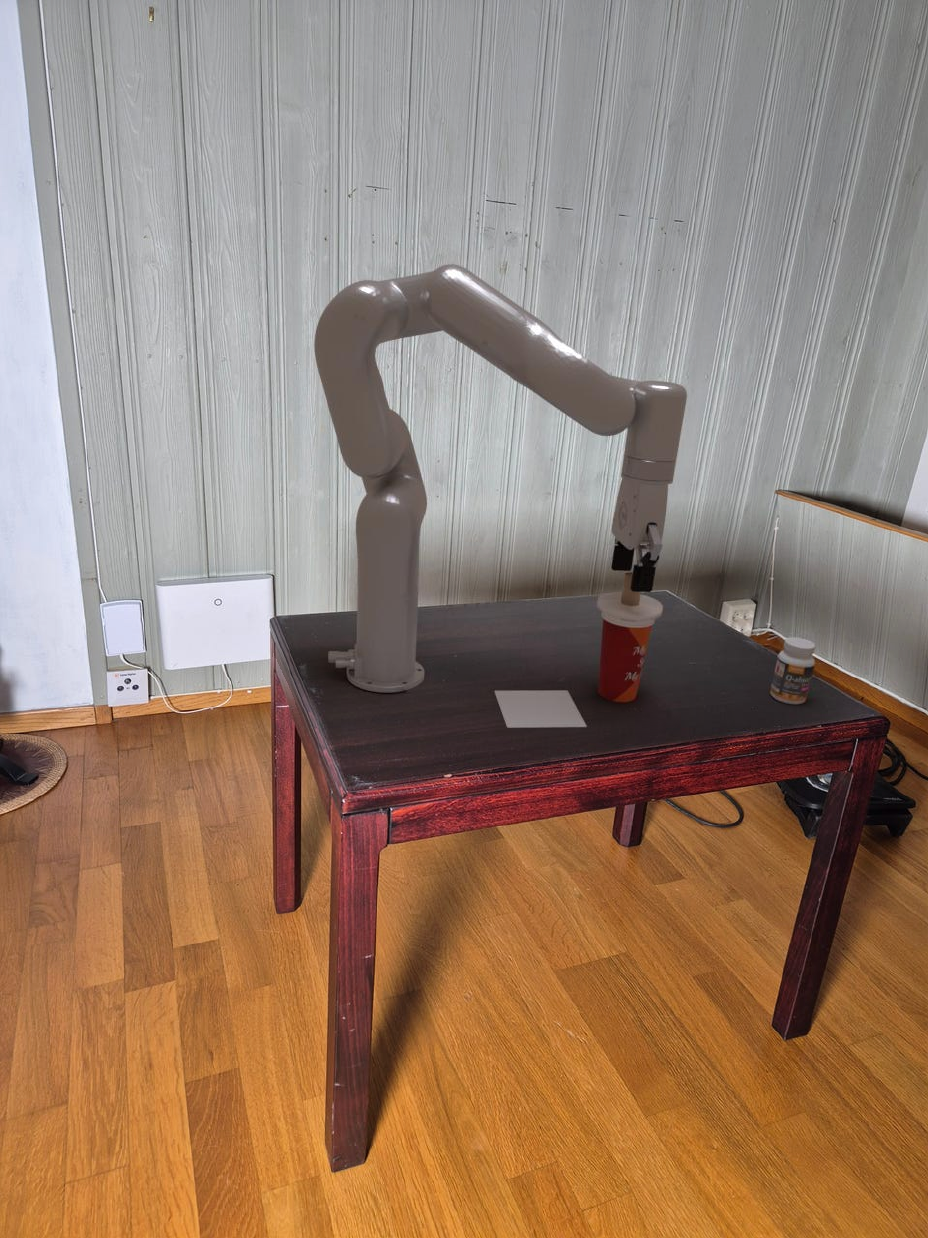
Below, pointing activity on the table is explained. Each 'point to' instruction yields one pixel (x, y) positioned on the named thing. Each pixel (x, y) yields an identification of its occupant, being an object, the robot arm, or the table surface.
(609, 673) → the coffee cup
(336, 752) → the table surface
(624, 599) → the lid
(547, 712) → the mat
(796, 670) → the pill bottle
